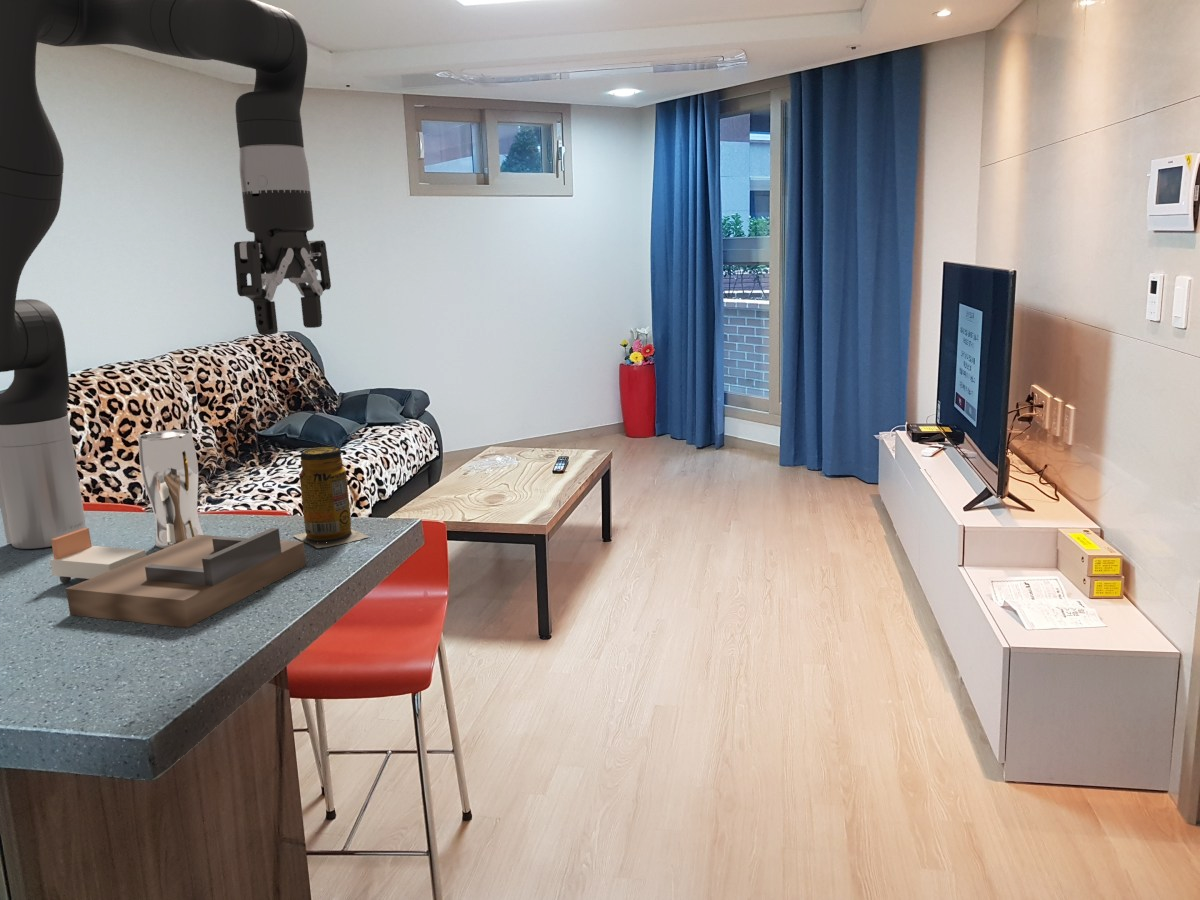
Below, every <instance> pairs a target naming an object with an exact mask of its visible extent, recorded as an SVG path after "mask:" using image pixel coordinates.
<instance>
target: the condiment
mask: <svg viewBox="0 0 1200 900" xmlns="http://www.w3.org/2000/svg"><path fill="white" fill-rule="evenodd" d="M342 459H343V458H342V451H341V449H340V448H339V447H335V446H321V447H313V448H308V449H305V450H303V451H301V453H300V460H301V461H300V466H301V468H302V469H301V471H300V472H299V483H300V492H301V502H302V511H303V512H302V513H303V521H304V530H305V531H304V532H301V533H297V534H294V535H293V537H295V538H296V539H297V540H299V541H300V542H304V543H307V544H308V545H310V546H311V547H315V548H317V549H321V548H328V547H333V546H339V545H342V544H343V545H344V544H349V543H351V542H355V541H359V540H360V541H361V540H363V539H367V538H370V536H369V535H367V534H365V533H362V532H360V531H357V530H354V529H352V528H351V526H352V522H351V521H352V519H351V518H352V517H351V507H350V506H351V504H350V496H349V490H348V488H349V486H348V479H347V478H348V477H347V470H346V468H345V467H344V466H343V460H342ZM317 542H318V543H317ZM326 542H327V543H326Z"/></svg>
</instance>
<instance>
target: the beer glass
mask: <svg viewBox="0 0 1200 900" xmlns="http://www.w3.org/2000/svg"><path fill="white" fill-rule="evenodd" d="M137 440H138V456H139V457H138V458H139V466H140V472H141V479H142V482H143V485H144V488H145V491H146V494H147V497H148V499H149V504H150V505H151V508H152V512H153V514H154V521H155V542H154V543H155V546H156V547H157V548H159V549H164V548H167V547H169V546H172V545H174V544H177V543H179V542H182V541H184V540H187V539H189V538H191V537H194V536H196V535H204V531H203V529H202V527H201V526H202V525H201V522H200V520H199V516H198V515H199V514H198V494H199V493H198V492H199V491H198V490H199V465H198V458H197V451H196V447H195V444H194V443H195V442H194V439H193V433H192V431H191V430H190V429H167V430H157V431H151V432H147V433H142V434H141V435H139V436H137Z"/></svg>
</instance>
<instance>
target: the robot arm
mask: <svg viewBox="0 0 1200 900" xmlns="http://www.w3.org/2000/svg"><path fill="white" fill-rule="evenodd" d="M38 43H39V44H40V43H41V44H44V45H49V46H53V47H59V48H61V47H81V46H94V45H97V46H98V45H117V46H118V45H119V46H120V45H121V46H130V47H133V48H139V49H142V50H145V51H149V52H153V53H158V54H162V55H168V56H172V57H173V56H174V57H178V58H179V57H180V58H184V59H185V58H186V59H192V60H197V61H212V60H215V61H219V62H223V63H226V64H232V65H236V66H241V67H244V68H250V69H253V70H255V81H254V88H253V91H249V92H245V93H242V94H241V95H239V96H238V98H237V99H236V101H235V121H236V123H235V124H236V131H237V137H238V138H237V140H238V148H239V178H240V186H241V196H242V203H243V204H242V205H243V214H244V221H245V229H246V230H247V232H249V233H253V234H254V236H253V237H254V239H253V240H242V241H235V242H234V245H233V252H234V265H235V267H234V268H235V277H236V289H237V295H238V296H240V297H246V298H248V299H249V300H250V301H251V302H252V303H253V309H254V311H253V312H254V317H255V318H254V320H255V327H256V329H257V332H258V334H259V335H261V336H262V335H265V336H266V335H267V336H268V335H269V336H270V335H276V334H277V333H278V331H279V329H278V320H277V312H276V302H275V301H274V300H273V299H274V297H275V295H276V294H275V293H276V290H277V288H278V286H280V285H282V284H283V282H284V280H285V279H288V281H289V282H290V283H292V284H294V285H295V286H296V288H297V290H298V291H299V293H300V295H301V296H302V297H300V303H301V305H300V306H301V314H302V322H303V326H304V328H308V329H309V328H313V329H315V328H321V327H322V325H323V321H322V320H323V314H322V303H321V296H323V293H324V291H326V290H327V291H328V290H330V289H331V287H332V283H331V275H330V267H329V260H328V253H327V246H326V245H327V244H326V242H325V241H324V240H322V239H321V240H309V239H308V236H307V234H308V233H307V232H310V231H312V230H313V229H314V227H315V222H314V213H313V211H314V210H313V205H312V203H313V202H312V193H311V183H310V173H309V166H308V162H307V157H306V153H305V148H304V147H305V145H304V134H303V125H302V117H301V107H302V102H303V97H304V90H305V89H304V88H305V82H306V76H307V67H308V44H307V38H306V35H305V33H304V30H303V28H302V26H301V24H300V22H299V21H298V19H297V18H296V17H295V16H294V15H293V14H292V13H290V12H289V11H287V10H284V9H282V8H280V7H277V6H273V5H271V4H267V3H266V2H262V1H259V0H0V373H3V372H4V373H5V372H11V371H13V379H12V382H11V383H10V385H9V386H8V388H7V389H6V390H5V391H3V392H2V393H1V394H0V512H1V513H0V514H1V517H2V523H3V529H4V533H5V539H6V543H7V544H11V545H12V547H13V548H16V549H21V550H22V549H23V550H24V549H25V550H28V549H42V548H50V547H52V543H51V539H54V538H57V537H60V536H62V535H65V534H68V533H71V532H74V531H77V530H80V529H83V528H87V523H86V517H85V511H84V505H83V504H84V503H83V497H82V492H81V485H80V479H79V475H78V468H77V467H78V466H77V461H76V455H75V449H74V445H73V444H74V442H73V437H72V432H71V425H70V419H69V413H68V405H67V404H68V401H69V397H70V396H69V395H70V380H69V370H68V368H69V367H68V359H67V349H66V341H65V336H64V335H65V334H64V331H63V327H62V324H61V321H60V318H59V317H58V315H57V314H56V312H55V311H54V309H53V308H52V307H51V306H50V305H49V304H48V303H46V302H44V301H41V300H39V299H32V298H30V299H29V298H27V299H17V294H18V293H17V292H18V286H19V284H20V283H19V282H20V278H21V275H22V272H23V270H24V268H25V266H26V264H27V262H28V260H29V259H30V257H31V256H32V254H33V253H34V251H35V250H36V249H37V247H38V246H39V244H41V242H42V240H43V239H44V238H45V236H46V234H47V233H48V232H49V230H50V228H51V227H52V226H53V224H54V222H55V220H56V218H57V216H58V213H59V211H60V208H61V207H60V206H61V200H62V192H63V191H62V190H63V179H64V166H65V165H64V155H63V150H62V147H61V145H60V142H59V140H58V138H57V135H56V133H55V130H54V129H53V126H52V124H51V122H50V119H49V117H48V116H47V113H46V111H45V108H44V106H43V104H42V101H41V99H40V95H39V91H38V86H37V80H36V79H37V77H36V69H37V68H36V65H37V64H36V63H37V62H36V61H37V60H36V59H37V58H36V57H37V46H38ZM318 271H319V272H320V279H318V278H317V277H318ZM248 274H249V276H250V282H251V283H250V284H249V285H248Z"/></svg>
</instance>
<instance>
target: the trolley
mask: <svg viewBox="0 0 1200 900" xmlns="http://www.w3.org/2000/svg"><path fill="white" fill-rule="evenodd" d="M51 543H52V546H51V547H52V554H53V558H50V559H49V561H50V566H51V567H50V568H51V573H52V576H55V577H59V582H61V584H68V583H70V582H71V580H72V578H77V579H86V580H88V579H91V578H93V577H96V576H98V575H101V574H103V573H106V572H108V571H110V570H113V569H115V568H118V567H120V566H123V565H125V564H128V563H130V562H133V561H135V560H137V559H140V558H142V557H145V556H147V553H146V549H139V548H126V547H125V548H124V547H113V546H112V547H111V546H100V545H99V546H98V545H92V538H91V533H90V528H89V527H86V528H83V529H80V530H77V531H74V532H71V533H68V534H65V535H62V536H60V537H57V538H54V539H51Z"/></svg>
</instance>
